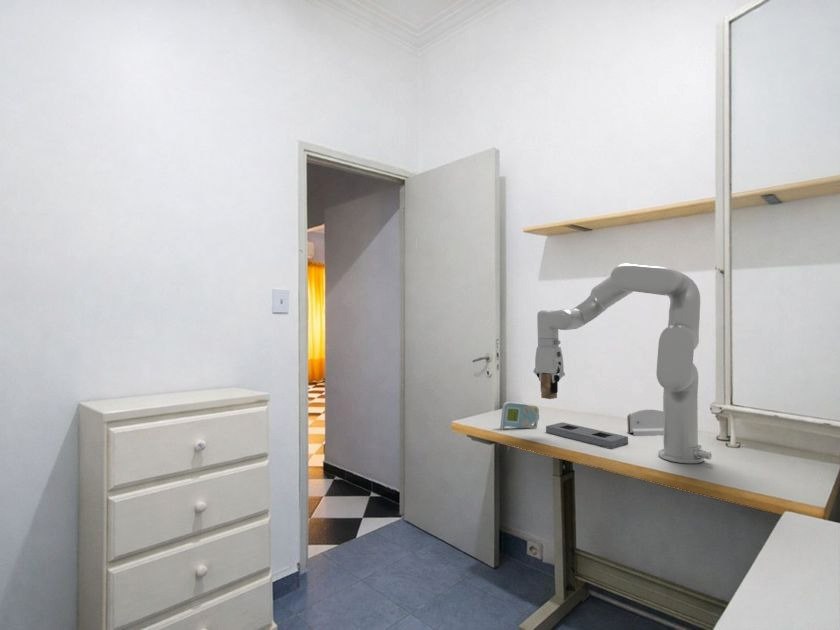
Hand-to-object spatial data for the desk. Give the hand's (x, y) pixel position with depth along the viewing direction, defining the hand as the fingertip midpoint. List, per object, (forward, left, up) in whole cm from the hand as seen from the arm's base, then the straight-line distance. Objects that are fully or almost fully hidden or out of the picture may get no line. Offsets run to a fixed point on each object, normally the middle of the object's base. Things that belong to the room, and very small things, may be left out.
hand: (549, 391), depth 176 cm
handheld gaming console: (+16, -1, -17) cm, 24 cm away
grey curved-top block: (-19, -35, -17) cm, 43 cm away
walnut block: (0, 0, -2) cm, 2 cm away
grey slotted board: (-9, -9, -17) cm, 21 cm away
